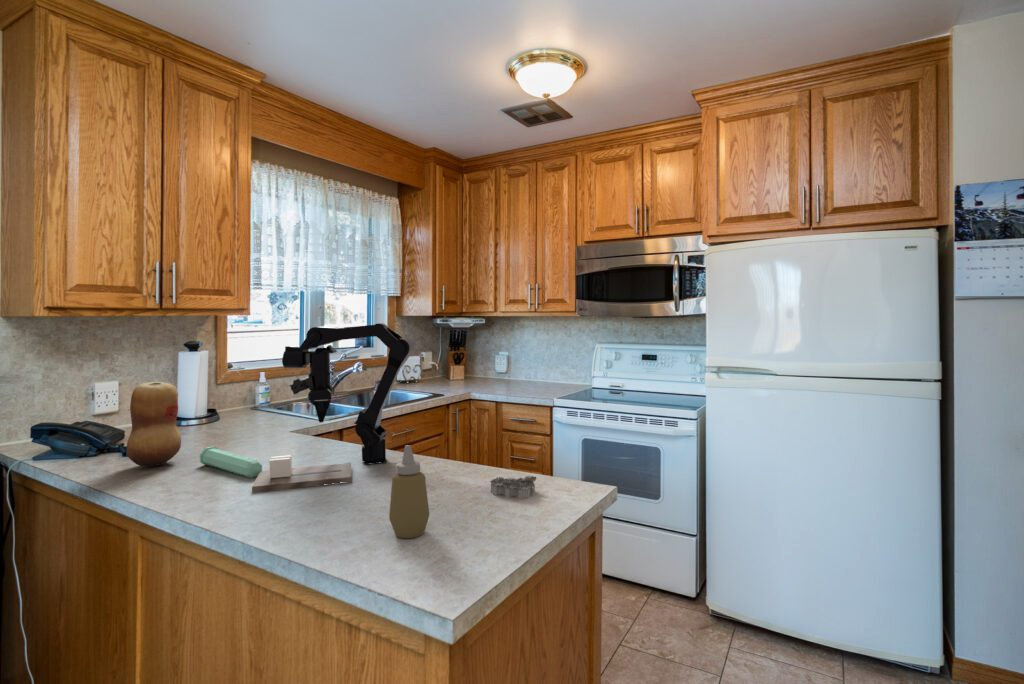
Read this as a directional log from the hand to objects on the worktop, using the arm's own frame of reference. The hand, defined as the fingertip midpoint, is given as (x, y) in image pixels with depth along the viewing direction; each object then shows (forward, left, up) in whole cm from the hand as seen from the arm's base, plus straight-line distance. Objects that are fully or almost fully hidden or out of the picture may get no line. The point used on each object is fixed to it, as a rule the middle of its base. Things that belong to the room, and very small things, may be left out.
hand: (321, 419), depth 159 cm
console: (+4, +17, -13) cm, 22 cm away
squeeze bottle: (-19, +62, -13) cm, 66 cm away
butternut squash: (+48, -13, -13) cm, 51 cm away
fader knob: (+10, +17, -11) cm, 22 cm away
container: (+25, +1, -14) cm, 28 cm away
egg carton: (-46, +45, -14) cm, 66 cm away
